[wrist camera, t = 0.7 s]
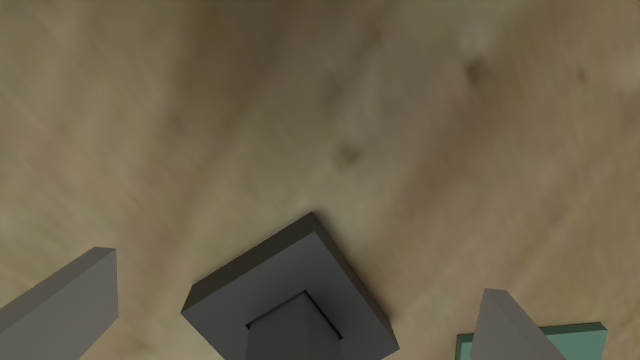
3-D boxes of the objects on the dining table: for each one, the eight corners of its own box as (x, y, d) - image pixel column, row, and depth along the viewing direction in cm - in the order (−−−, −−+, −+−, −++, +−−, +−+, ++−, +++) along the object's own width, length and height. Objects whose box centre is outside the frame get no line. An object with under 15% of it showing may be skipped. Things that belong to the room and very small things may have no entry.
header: (192, 285, 31) (180, 313, 28) (311, 211, 30) (314, 231, 26) (280, 381, 35) (278, 415, 32) (389, 320, 34) (399, 349, 30)
